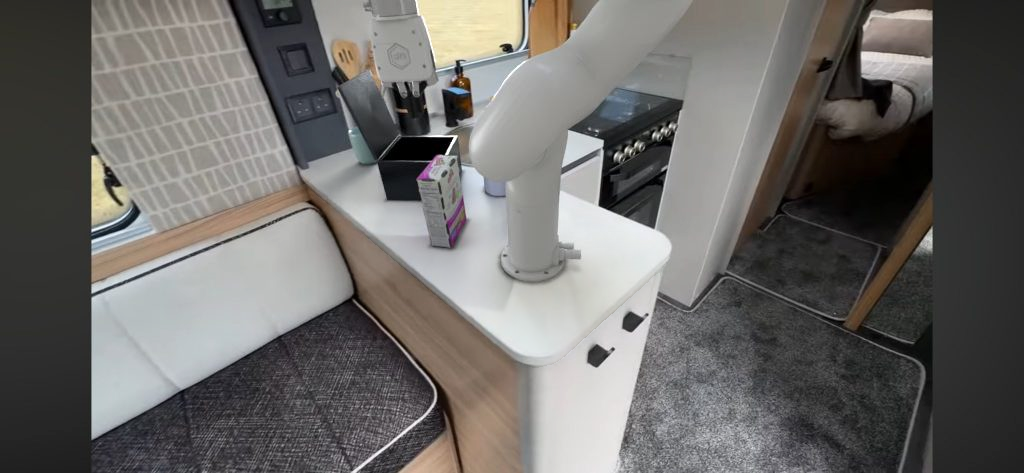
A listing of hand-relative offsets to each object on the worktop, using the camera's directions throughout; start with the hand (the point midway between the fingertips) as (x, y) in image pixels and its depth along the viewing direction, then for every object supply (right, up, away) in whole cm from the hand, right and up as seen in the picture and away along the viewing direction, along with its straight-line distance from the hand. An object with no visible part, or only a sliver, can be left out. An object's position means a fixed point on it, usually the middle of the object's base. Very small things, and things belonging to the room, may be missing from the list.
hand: (417, 116), depth 74 cm
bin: (-5, -10, +29) cm, 31 cm away
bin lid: (-15, +6, +18) cm, 24 cm away
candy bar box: (+5, -23, +10) cm, 26 cm away
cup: (-25, -1, +43) cm, 50 cm away
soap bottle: (+16, -11, +25) cm, 32 cm away
